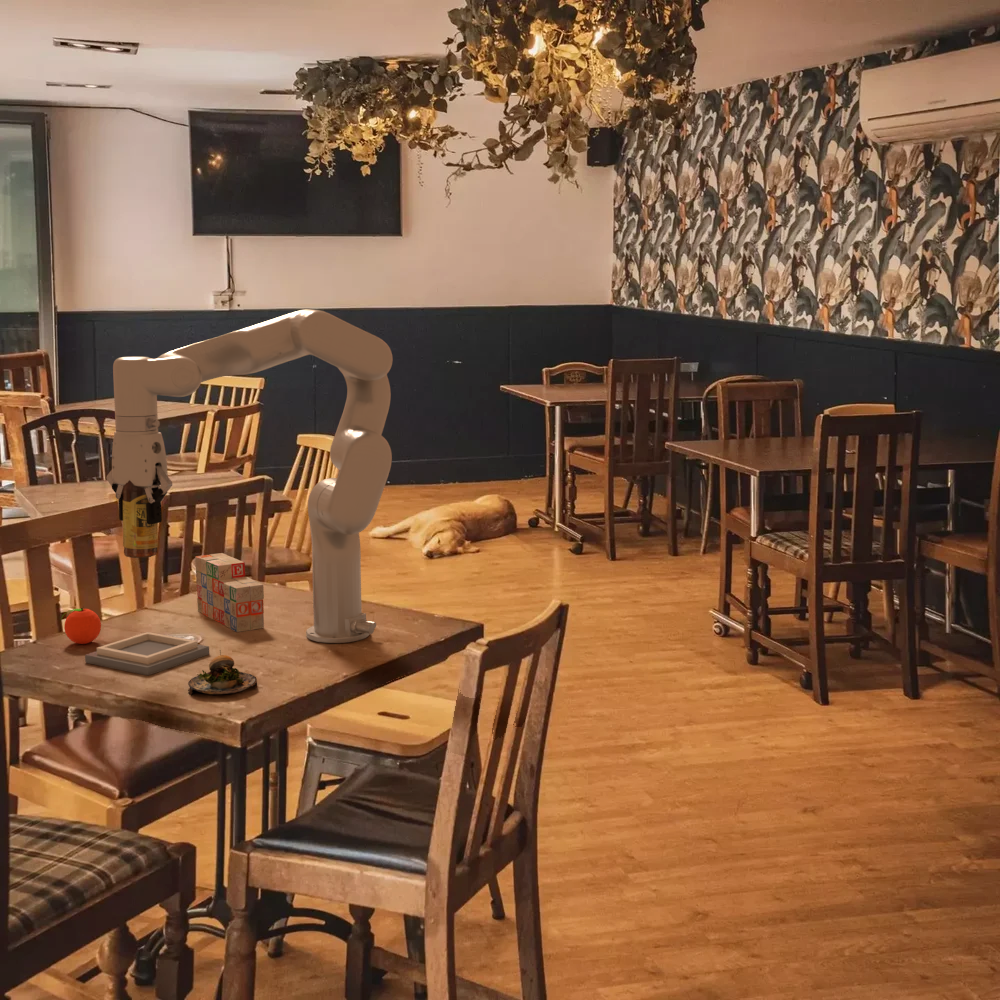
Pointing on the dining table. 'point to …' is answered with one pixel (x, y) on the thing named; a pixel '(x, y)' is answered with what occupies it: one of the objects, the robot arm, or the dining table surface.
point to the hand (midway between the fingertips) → (140, 520)
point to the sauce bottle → (137, 524)
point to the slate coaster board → (147, 653)
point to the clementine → (82, 626)
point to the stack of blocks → (228, 593)
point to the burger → (222, 678)
